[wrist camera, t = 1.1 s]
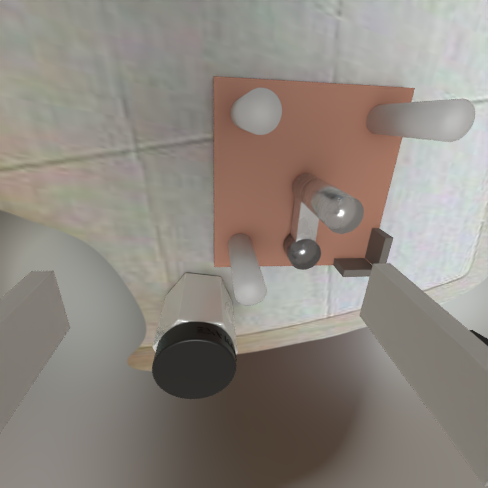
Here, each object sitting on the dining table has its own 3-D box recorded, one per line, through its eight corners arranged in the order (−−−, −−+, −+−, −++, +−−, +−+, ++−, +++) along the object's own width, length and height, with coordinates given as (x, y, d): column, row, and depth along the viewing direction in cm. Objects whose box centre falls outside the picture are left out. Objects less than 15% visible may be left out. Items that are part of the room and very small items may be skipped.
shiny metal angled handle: (310, 258, 35) (345, 308, 25) (282, 258, 34) (307, 309, 25) (323, 173, 30) (371, 197, 21) (291, 172, 30) (325, 196, 21)
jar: (239, 313, 40) (249, 387, 29) (185, 331, 40) (176, 411, 29) (215, 261, 36) (217, 324, 25) (157, 282, 36) (133, 353, 25)
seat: (213, 78, 28) (214, 54, 17) (402, 89, 30) (511, 74, 19) (214, 259, 36) (215, 321, 25) (362, 257, 38) (422, 313, 27)
